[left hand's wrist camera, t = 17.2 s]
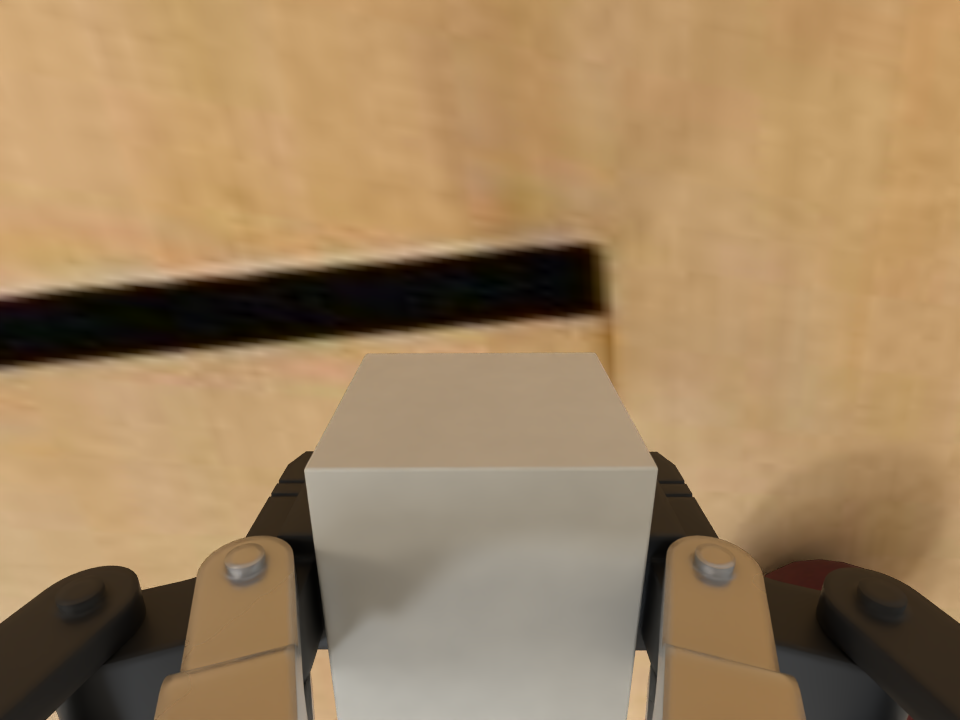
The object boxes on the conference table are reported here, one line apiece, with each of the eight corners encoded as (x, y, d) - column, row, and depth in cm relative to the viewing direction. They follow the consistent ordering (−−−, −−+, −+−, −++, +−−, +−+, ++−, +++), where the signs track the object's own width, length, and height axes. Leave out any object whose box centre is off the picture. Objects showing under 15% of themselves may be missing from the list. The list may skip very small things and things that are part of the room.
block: (581, 545, 13) (626, 726, 9) (381, 546, 13) (337, 726, 9) (596, 351, 12) (660, 468, 7) (365, 352, 12) (302, 469, 7)
